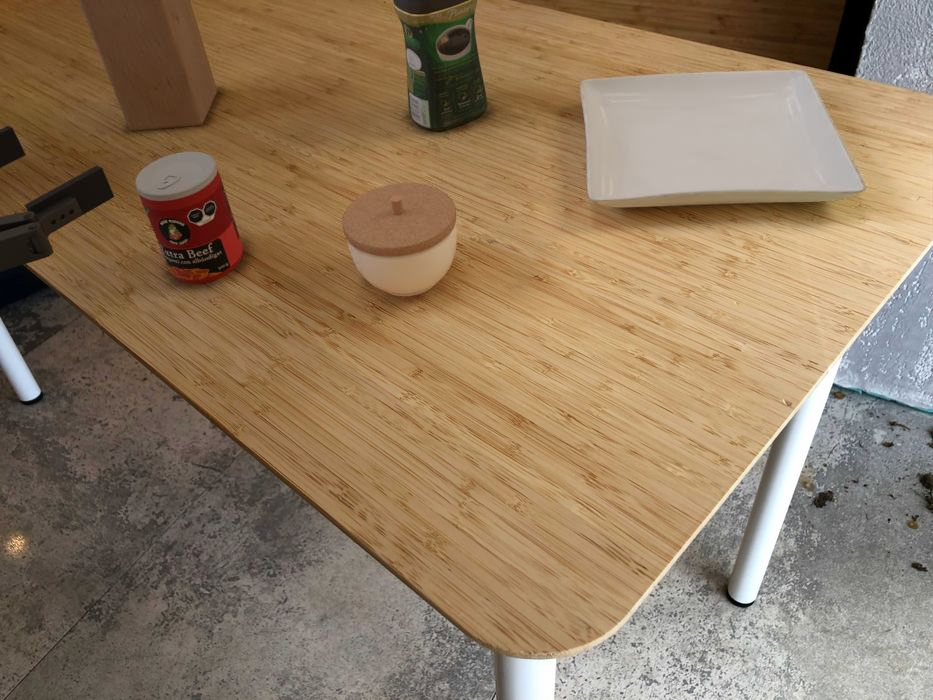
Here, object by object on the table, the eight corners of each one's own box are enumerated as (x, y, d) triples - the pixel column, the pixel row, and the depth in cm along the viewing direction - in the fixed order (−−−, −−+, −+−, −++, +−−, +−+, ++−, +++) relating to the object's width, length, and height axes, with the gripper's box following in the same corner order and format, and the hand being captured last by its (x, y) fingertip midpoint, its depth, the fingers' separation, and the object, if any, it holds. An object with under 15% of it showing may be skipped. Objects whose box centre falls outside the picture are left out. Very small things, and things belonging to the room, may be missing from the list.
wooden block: (203, 127, 112) (152, -30, 98) (129, 133, 112) (67, -23, 98) (218, 91, 119) (173, -59, 105) (149, 97, 119) (94, -52, 106)
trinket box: (387, 328, 79) (371, 247, 73) (338, 272, 86) (319, 194, 80) (483, 284, 83) (476, 203, 76) (428, 233, 90) (417, 155, 83)
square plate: (862, 220, 85) (871, 187, 82) (587, 229, 88) (587, 197, 85) (802, 93, 105) (808, 63, 102) (578, 103, 107) (578, 74, 105)
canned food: (159, 286, 87) (120, 194, 79) (188, 239, 93) (154, 150, 85) (230, 287, 86) (197, 195, 78) (254, 240, 92) (226, 150, 84)
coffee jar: (464, 92, 112) (450, -55, 100) (496, 115, 107) (487, -38, 94) (400, 116, 109) (378, -34, 96) (430, 140, 104) (411, -14, 91)
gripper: (-233, 280, 69) (3, 161, 81) (-91, 401, 57) (164, 240, 68) (-297, 202, 64) (-36, 87, 76) (-156, 316, 52) (130, 158, 63)
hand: (59, 159), depth 72 cm, fingers open, 13 cm apart
